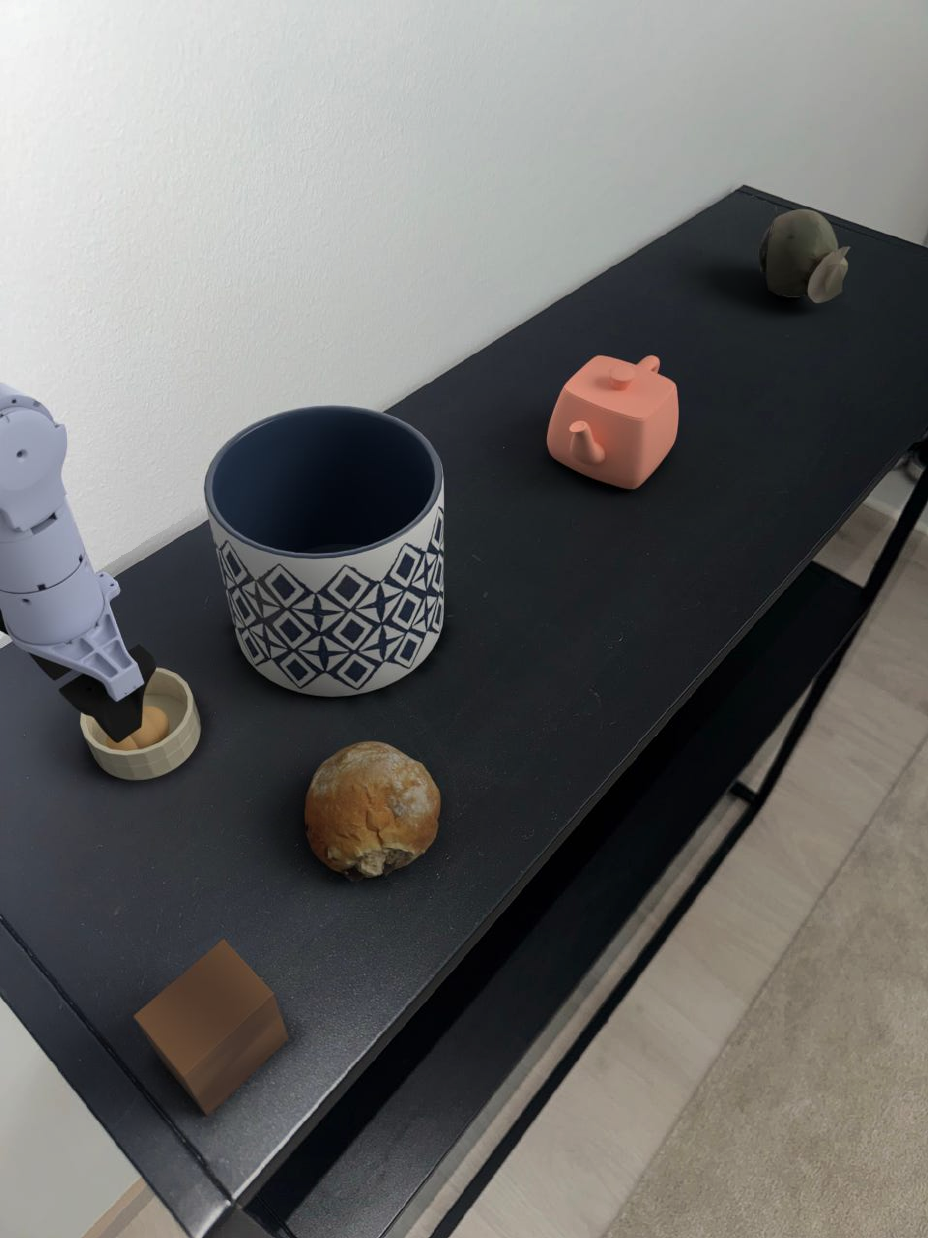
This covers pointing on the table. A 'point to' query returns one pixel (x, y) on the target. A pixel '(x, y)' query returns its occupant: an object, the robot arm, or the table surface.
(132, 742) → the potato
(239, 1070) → the block
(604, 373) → the teapot
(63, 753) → the table surface
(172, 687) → the bowl
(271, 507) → the planter
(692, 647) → the table surface
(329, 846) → the bread roll
